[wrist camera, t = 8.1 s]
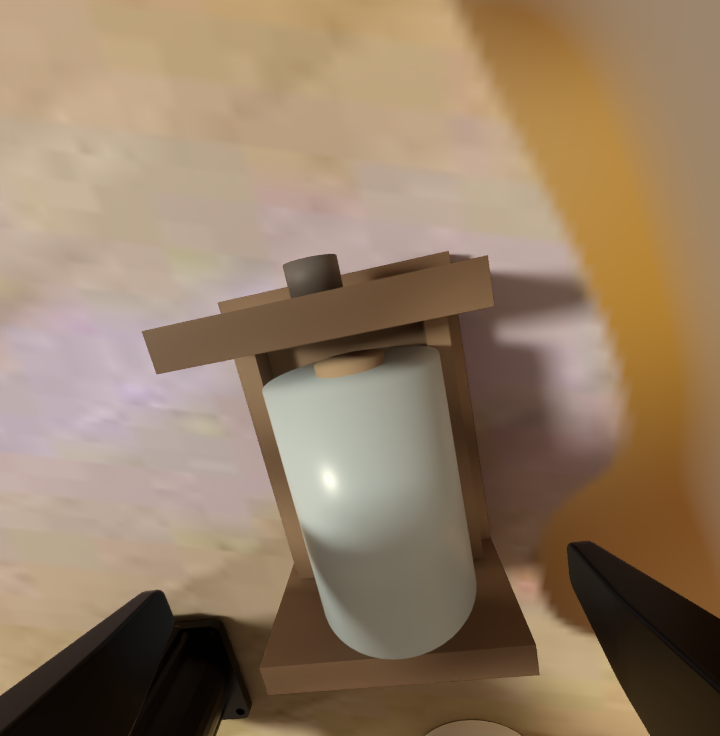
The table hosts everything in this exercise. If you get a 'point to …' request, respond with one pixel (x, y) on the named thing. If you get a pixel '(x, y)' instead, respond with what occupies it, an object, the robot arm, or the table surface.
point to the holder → (256, 368)
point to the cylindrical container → (472, 729)
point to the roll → (378, 496)
